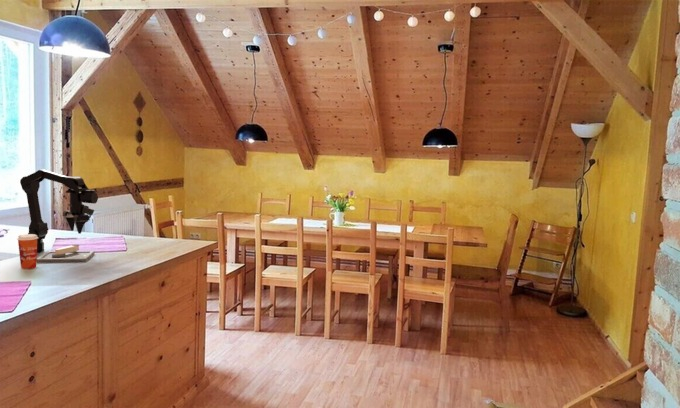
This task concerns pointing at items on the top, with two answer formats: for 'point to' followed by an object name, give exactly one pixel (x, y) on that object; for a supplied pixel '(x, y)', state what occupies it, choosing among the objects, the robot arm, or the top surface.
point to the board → (66, 257)
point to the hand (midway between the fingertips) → (75, 232)
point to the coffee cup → (28, 250)
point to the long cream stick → (65, 250)
